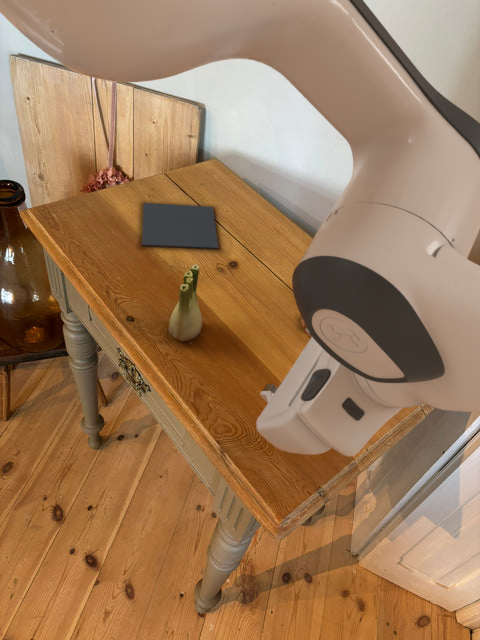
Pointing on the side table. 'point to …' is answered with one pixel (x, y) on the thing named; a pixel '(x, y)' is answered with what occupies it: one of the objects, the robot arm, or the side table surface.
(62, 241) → the side table surface
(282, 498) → the side table surface
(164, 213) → the mat
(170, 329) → the fennel bulb
